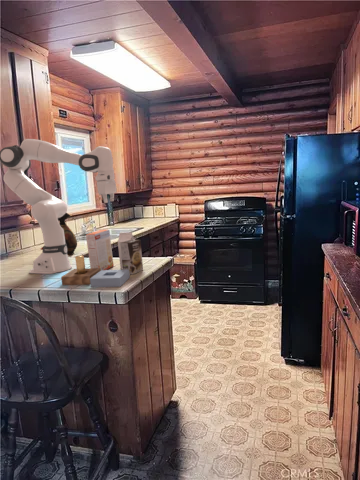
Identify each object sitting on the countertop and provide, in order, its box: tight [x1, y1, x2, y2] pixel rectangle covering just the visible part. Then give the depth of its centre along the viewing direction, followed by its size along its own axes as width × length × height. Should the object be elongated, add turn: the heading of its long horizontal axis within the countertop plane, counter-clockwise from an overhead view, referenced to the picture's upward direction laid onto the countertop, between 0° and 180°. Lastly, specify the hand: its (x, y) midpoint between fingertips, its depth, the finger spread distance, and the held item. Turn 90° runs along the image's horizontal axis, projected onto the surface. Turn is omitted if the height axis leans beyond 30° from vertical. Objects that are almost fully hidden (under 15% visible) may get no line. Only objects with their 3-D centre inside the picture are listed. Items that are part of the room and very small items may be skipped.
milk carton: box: [117, 232, 136, 270], centre depth 187 cm, size 7×7×19 cm
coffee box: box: [120, 239, 144, 275], centre depth 178 cm, size 9×6×16 cm
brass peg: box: [75, 254, 86, 274], centre depth 169 cm, size 4×4×12 cm
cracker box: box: [85, 229, 114, 270], centre depth 186 cm, size 14×6×21 cm, turn 159°
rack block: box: [60, 267, 101, 286], centre depth 170 cm, size 14×14×4 cm
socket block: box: [90, 269, 131, 288], centre depth 164 cm, size 14×14×4 cm
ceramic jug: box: [58, 212, 78, 256], centre depth 232 cm, size 17×15×30 cm
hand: (109, 202), depth 194 cm, fingers open, 8 cm apart
